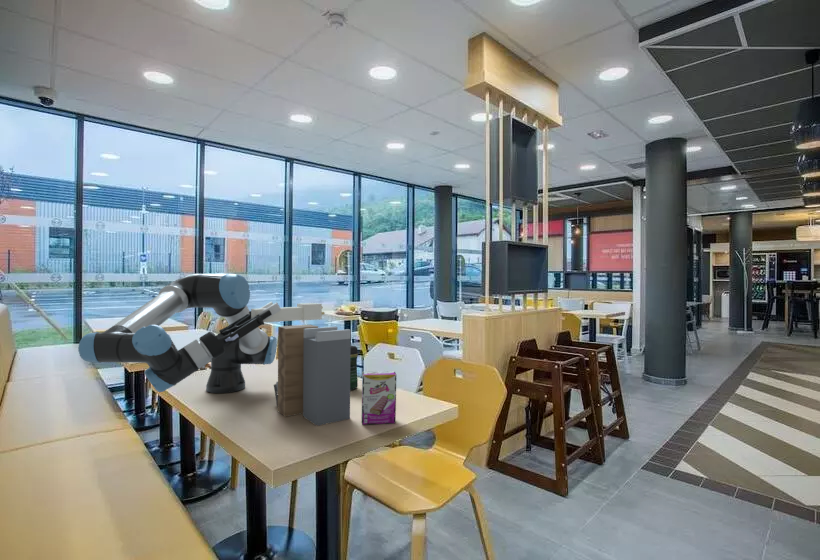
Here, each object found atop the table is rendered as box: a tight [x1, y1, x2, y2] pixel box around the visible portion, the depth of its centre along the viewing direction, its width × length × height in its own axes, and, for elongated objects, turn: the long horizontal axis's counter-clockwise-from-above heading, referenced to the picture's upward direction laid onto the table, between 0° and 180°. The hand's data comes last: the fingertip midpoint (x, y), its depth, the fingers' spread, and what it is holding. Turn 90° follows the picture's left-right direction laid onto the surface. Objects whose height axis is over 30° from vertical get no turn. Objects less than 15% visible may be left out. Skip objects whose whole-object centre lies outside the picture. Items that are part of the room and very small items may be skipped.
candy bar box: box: [360, 370, 397, 426], centre depth 141 cm, size 11×5×16 cm, turn 99°
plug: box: [250, 302, 325, 323], centre depth 136 cm, size 6×22×5 cm, turn 127°
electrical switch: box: [273, 381, 278, 406], centre depth 161 cm, size 9×5×9 cm, turn 141°
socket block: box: [302, 326, 352, 426], centre depth 145 cm, size 11×12×30 cm
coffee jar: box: [350, 345, 359, 391], centre depth 183 cm, size 10×8×19 cm
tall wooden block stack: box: [277, 324, 319, 417], centre depth 152 cm, size 7×12×30 cm, turn 127°
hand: (276, 305), depth 134 cm, fingers closed on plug, 4 cm apart
